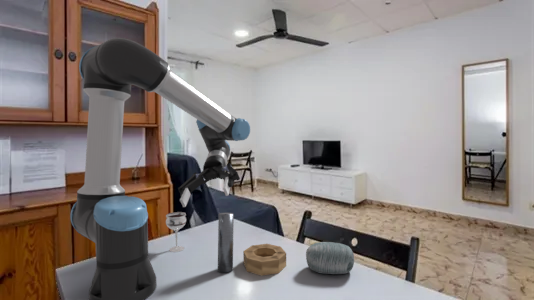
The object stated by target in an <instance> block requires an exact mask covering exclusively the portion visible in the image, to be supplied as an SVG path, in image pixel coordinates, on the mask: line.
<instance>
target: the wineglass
mask: <svg viewBox="0 0 534 300" xmlns="http://www.w3.org/2000/svg"><path fill="white" fill-rule="evenodd" d="M186 216H187V214H186V212H182V211H177V212H169V213H167V214H166V215H165V218H166V219H165V225H166V227H167V228H169V229H170V230H172V231H174V234H175V236H174V237H175V246H171V247H170V248H169V249H168V251H170V252H171V253H176V252H177V253H178V252H182V251H183V250H184V249H185V246H183V245H182V246H181V245H178V232H179V231H180V229H182V228H184V226H185V225H186V223H187V217H186Z"/></svg>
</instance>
